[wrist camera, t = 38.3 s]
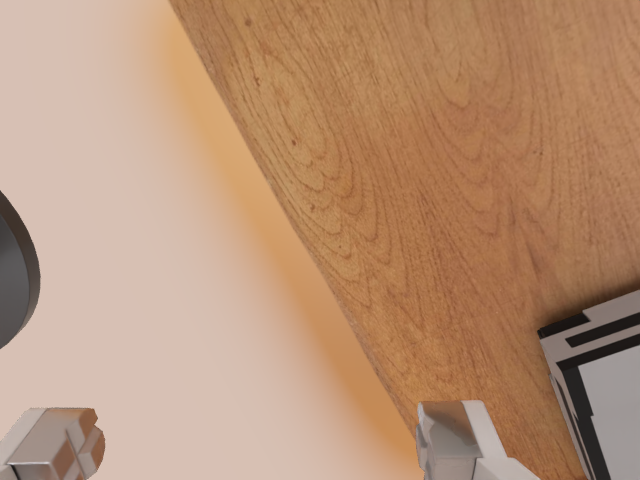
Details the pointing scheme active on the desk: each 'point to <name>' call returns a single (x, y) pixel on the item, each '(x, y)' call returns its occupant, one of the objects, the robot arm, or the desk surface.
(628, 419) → the game console
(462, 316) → the desk surface
